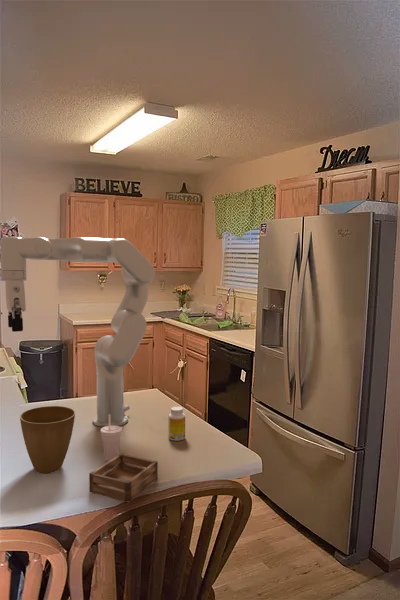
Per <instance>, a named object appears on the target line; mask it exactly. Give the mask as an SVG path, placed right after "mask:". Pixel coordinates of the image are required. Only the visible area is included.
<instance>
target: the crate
mask: <svg viewBox="0 0 400 600" xmlns="http://www.w3.org/2000/svg"><path fill="white" fill-rule="evenodd" d="M158 464H159V463H158V461H157V460H153V459H148V458H147V459H146V458H143V457H139V456H134V455H129V454H126V453H122V452H119V455H118V456H116V457H114V458H113V459H111V460H110V461H108V462H107V463H106V462H105V463H104V464H102V465H101V466H99V467H97V468H96V469H94V470H93V471H91V472H89V476H88V479H89V480H88V481H89V483H88V484H89V485H88V486H89V488H88V490H89V493H91V494H96V495H99V496H103V497H107V498H110V499H114V500H116V501H117V500H118V501H121V502H125V503H128V502H127V501H130V500H131V501H133V500H134V499H135V498H136V497H138V496H139V495H140V494H141V493H142V492H144V491H145V490H147V488H149V486H151V485H152V484H153V483H155V482H156V481H157V480H158V472H159V471H158V468H159V466H158ZM131 501H130V502H131Z"/></svg>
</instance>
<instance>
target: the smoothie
mask: <svg viewBox="0 0 400 600" xmlns="http://www.w3.org/2000/svg"><path fill="white" fill-rule="evenodd" d="M122 433H123V427H121V426H115V425H110V414H109V426H105V427H101V428H100V435H101V438H102V445H103V454H104V461H105V463H107V462H108V461H110V460H111V459H113V458H114V457H116V456H118V455H119V454H120V445H121V439H122Z"/></svg>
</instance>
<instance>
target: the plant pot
mask: <svg viewBox="0 0 400 600" xmlns="http://www.w3.org/2000/svg"><path fill="white" fill-rule="evenodd" d="M75 417H76V410H74V409H73V408H71V407H68V406H61V405H47V406H44V405H43V406H39V407H34V408H30V409H27V410H24V411H23V412H22V413H21V414H20V415H19V420H20V421H19V422H20V427H21V432H22V437H23V441H24V445H25V449H26V451H27V454H28V457H29V460H30V462H31V464H32V468H33V469H34V471H35V472H36V473H38V474H53V473H56V472H58V471H60V470H61V469H62V467H63V464H64V463H65V462H64V461H65V459H66V456H67V453H68V450H69V447H70V443H71V438H72V435H73V430H74V424H75V419H76V418H75Z"/></svg>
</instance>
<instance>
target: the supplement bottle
mask: <svg viewBox="0 0 400 600" xmlns="http://www.w3.org/2000/svg"><path fill="white" fill-rule="evenodd" d="M167 427H168V433H167V434H168V439H169V440H170V441H173V442H175V441H176V442H178V441H183V440H185V438H186V414H185V413H184V408H183V407H182V406H172V407H171V409H170V413H169V414H168V426H167Z"/></svg>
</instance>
